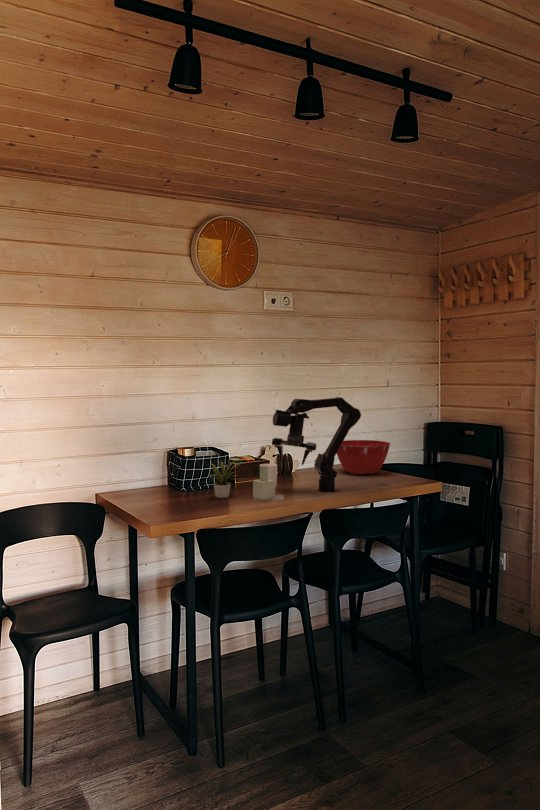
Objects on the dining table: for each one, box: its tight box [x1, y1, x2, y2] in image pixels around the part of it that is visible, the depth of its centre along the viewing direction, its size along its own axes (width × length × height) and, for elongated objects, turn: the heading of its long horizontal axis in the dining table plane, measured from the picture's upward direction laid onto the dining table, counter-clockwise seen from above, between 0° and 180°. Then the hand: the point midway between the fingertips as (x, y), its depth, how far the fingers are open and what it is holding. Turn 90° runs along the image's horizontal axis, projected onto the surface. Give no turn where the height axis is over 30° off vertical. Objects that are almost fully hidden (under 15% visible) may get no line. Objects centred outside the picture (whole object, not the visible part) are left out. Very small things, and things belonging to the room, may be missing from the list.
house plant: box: [208, 461, 241, 499], centre depth 262 cm, size 14×14×16 cm
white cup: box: [259, 463, 278, 488], centre depth 286 cm, size 8×8×10 cm
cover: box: [252, 465, 276, 501], centre depth 259 cm, size 6×6×13 cm
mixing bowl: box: [336, 439, 391, 475], centre depth 321 cm, size 28×28×15 cm
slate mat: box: [253, 494, 285, 501], centre depth 260 cm, size 12×9×1 cm
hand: (291, 463), depth 272 cm, fingers open, 9 cm apart
